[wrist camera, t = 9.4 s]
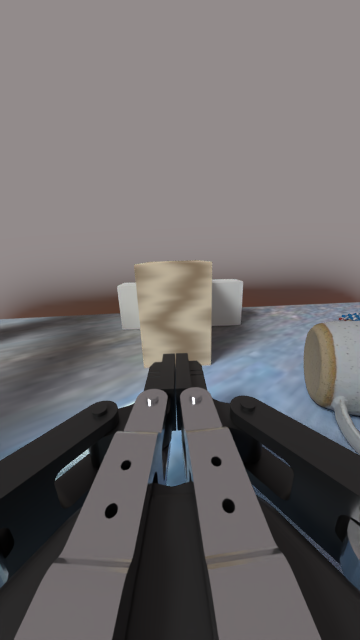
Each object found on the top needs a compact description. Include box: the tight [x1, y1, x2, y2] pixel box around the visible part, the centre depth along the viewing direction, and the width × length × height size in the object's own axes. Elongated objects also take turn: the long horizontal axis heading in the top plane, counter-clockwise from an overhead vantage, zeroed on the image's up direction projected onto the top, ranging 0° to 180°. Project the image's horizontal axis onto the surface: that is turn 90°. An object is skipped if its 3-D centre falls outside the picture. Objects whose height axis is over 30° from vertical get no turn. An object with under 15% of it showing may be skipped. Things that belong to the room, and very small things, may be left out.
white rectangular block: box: [117, 279, 243, 330], centre depth 39 cm, size 22×5×8 cm, turn 91°
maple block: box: [134, 260, 212, 368], centre depth 29 cm, size 8×14×12 cm, turn 1°
